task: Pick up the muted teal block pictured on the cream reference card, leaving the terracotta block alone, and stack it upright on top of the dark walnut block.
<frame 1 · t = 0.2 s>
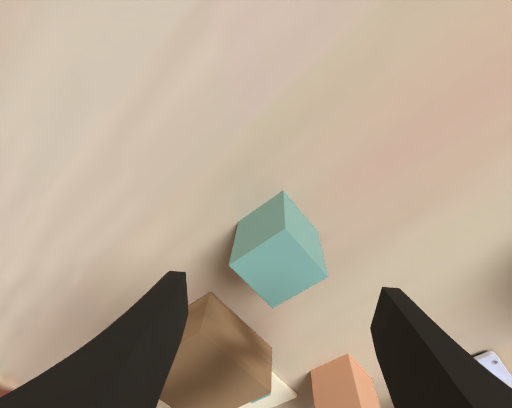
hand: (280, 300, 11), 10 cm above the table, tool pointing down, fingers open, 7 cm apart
terracotta block: (340, 373, 28), on the table
walnut block: (208, 340, 27), on the table
teal block: (277, 226, 22), on the table
reference card: (253, 388, 30), on the table
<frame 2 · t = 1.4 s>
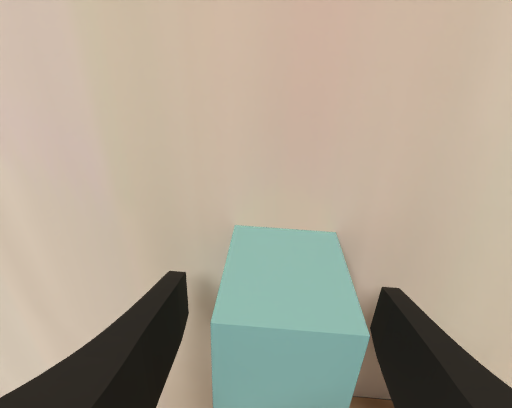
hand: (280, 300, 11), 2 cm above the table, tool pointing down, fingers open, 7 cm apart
teal block: (280, 268, 13), on the table
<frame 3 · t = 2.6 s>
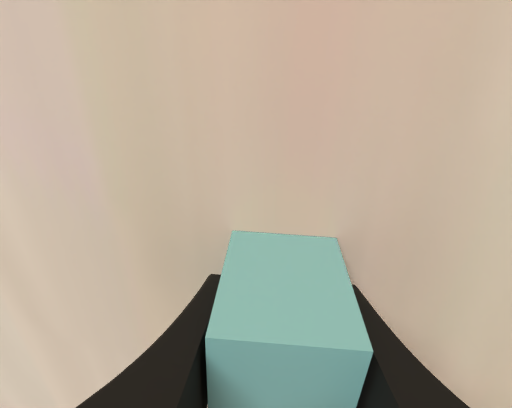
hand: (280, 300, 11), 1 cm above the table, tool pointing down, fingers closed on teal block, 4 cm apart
teal block: (280, 275, 13), on the table, touching gripper
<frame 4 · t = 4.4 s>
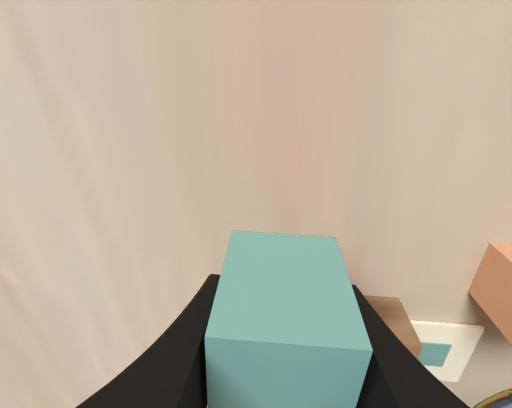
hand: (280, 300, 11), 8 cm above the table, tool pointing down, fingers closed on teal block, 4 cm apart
terracotta block: (508, 269, 20), on the table
walnut block: (333, 333, 24), on the table
teal block: (279, 275, 13), point 7 cm above the table, touching gripper
reference card: (428, 350, 24), on the table
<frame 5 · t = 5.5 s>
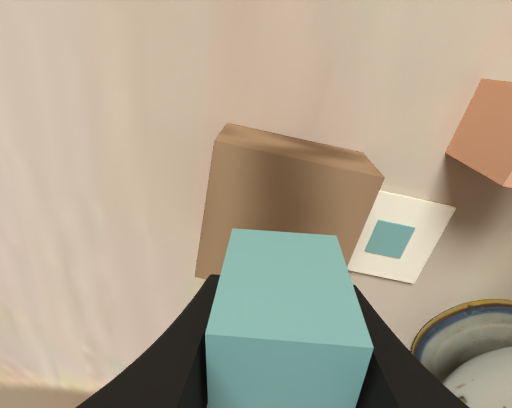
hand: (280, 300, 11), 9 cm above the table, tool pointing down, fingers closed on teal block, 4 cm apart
apothecary jar: (475, 344, 24), on the table
terracotta block: (497, 125, 17), on the table
walnut block: (279, 199, 19), on the table
teal block: (280, 273, 13), point 7 cm above the table, touching gripper
reference card: (387, 236, 20), on the table
when the fingers open (6 cm above the table, at t = 6.4 s): teal block stays where it is, resting on walnut block.
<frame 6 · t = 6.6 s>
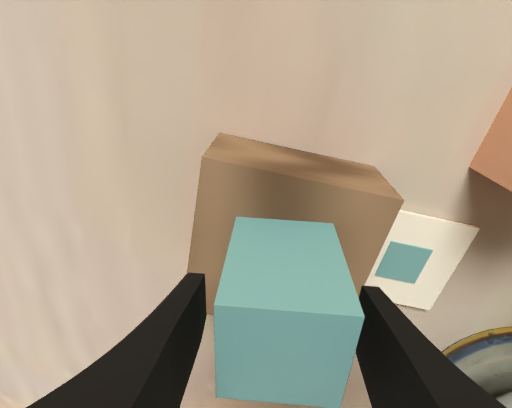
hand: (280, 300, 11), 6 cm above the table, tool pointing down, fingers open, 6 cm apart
apothecary jar: (495, 373, 22), on the table
walnut block: (279, 218, 17), on the table
teal block: (280, 259, 13), point 4 cm above the table, touching walnut block
reference card: (400, 259, 18), on the table
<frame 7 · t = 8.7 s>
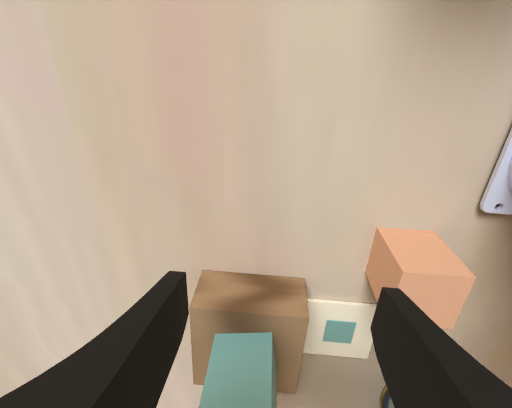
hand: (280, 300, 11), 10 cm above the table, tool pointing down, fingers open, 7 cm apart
terracotta block: (398, 252, 22), on the table
walnut block: (250, 312, 26), on the table
teal block: (246, 353, 22), point 4 cm above the table, touching walnut block
reference card: (338, 328, 26), on the table
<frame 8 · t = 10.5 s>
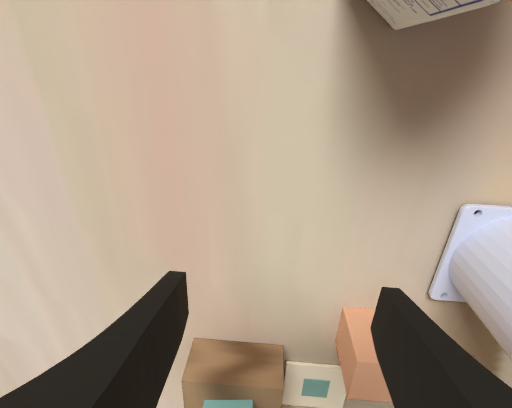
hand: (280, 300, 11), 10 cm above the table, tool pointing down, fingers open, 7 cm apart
terracotta block: (362, 326, 26), on the table
walnut block: (237, 371, 29), on the table
reference card: (315, 384, 29), on the table
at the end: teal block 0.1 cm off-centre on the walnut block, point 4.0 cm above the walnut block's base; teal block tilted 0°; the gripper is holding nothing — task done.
